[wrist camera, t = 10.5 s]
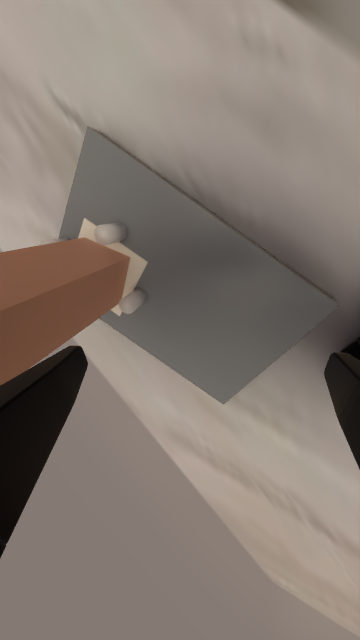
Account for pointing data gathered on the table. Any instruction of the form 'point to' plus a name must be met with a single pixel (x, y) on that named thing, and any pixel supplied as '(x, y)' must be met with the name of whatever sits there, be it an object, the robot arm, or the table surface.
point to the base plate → (187, 274)
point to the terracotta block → (53, 297)
